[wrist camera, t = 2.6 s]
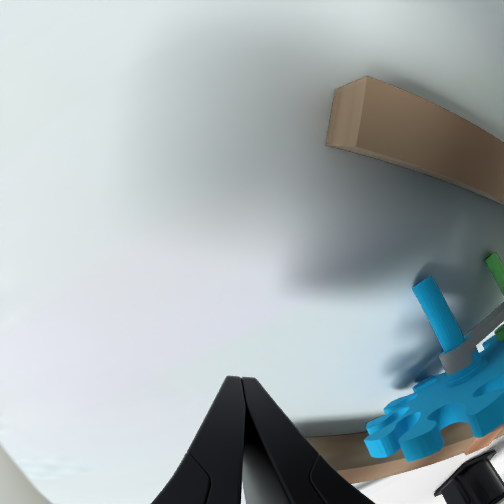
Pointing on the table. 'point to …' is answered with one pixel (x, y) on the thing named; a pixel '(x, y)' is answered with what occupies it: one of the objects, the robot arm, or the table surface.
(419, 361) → the table surface
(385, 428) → the gear
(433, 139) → the guide channel
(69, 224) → the table surface
